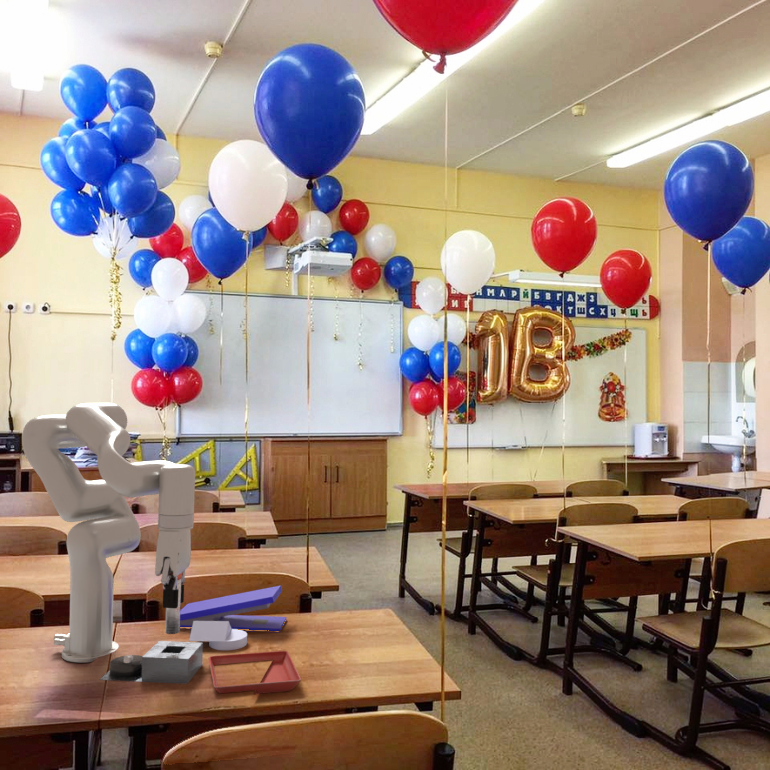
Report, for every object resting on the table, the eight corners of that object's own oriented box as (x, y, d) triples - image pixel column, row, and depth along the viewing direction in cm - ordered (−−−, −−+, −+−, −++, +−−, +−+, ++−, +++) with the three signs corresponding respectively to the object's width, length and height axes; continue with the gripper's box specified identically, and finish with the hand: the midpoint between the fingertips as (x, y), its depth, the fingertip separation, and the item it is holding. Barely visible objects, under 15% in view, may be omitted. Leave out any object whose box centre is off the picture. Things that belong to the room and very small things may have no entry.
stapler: (279, 634, 192) (280, 596, 192) (173, 630, 193) (173, 593, 193) (287, 620, 203) (287, 584, 203) (186, 617, 204) (187, 581, 204)
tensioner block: (99, 685, 156) (99, 655, 156) (120, 665, 167) (121, 638, 167) (187, 689, 155) (187, 659, 155) (202, 669, 166) (203, 641, 166)
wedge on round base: (188, 655, 175) (243, 655, 175) (189, 626, 175) (244, 627, 175) (197, 642, 184) (249, 642, 184) (197, 615, 184) (250, 615, 184)
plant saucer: (287, 663, 172) (287, 649, 172) (301, 694, 155) (302, 678, 155) (207, 670, 167) (208, 655, 167) (213, 703, 149) (213, 687, 149)
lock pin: (162, 633, 160) (164, 572, 160) (167, 629, 163) (169, 569, 163) (177, 634, 160) (179, 573, 160) (182, 629, 163) (184, 569, 163)
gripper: (172, 513, 170) (169, 593, 170) (144, 527, 153) (142, 616, 153) (204, 515, 169) (201, 595, 169) (180, 529, 153) (177, 617, 153)
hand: (173, 604), depth 161 cm, fingers closed on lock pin, 3 cm apart
